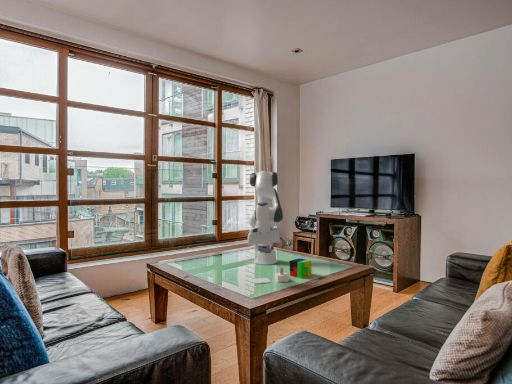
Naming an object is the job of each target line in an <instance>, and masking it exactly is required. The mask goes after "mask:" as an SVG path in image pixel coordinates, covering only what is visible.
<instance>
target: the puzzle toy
mask: <svg viewBox="0 0 512 384" xmlns="http://www.w3.org/2000/svg"><path fill="white" fill-rule="evenodd" d="M311 276H312V260H311V259H310V260H309V259H305V258H301V257H299V258H295V259H291V260H289V277H293V278H297V279H298V278H299V279H305V278H308V277H311Z"/></svg>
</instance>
